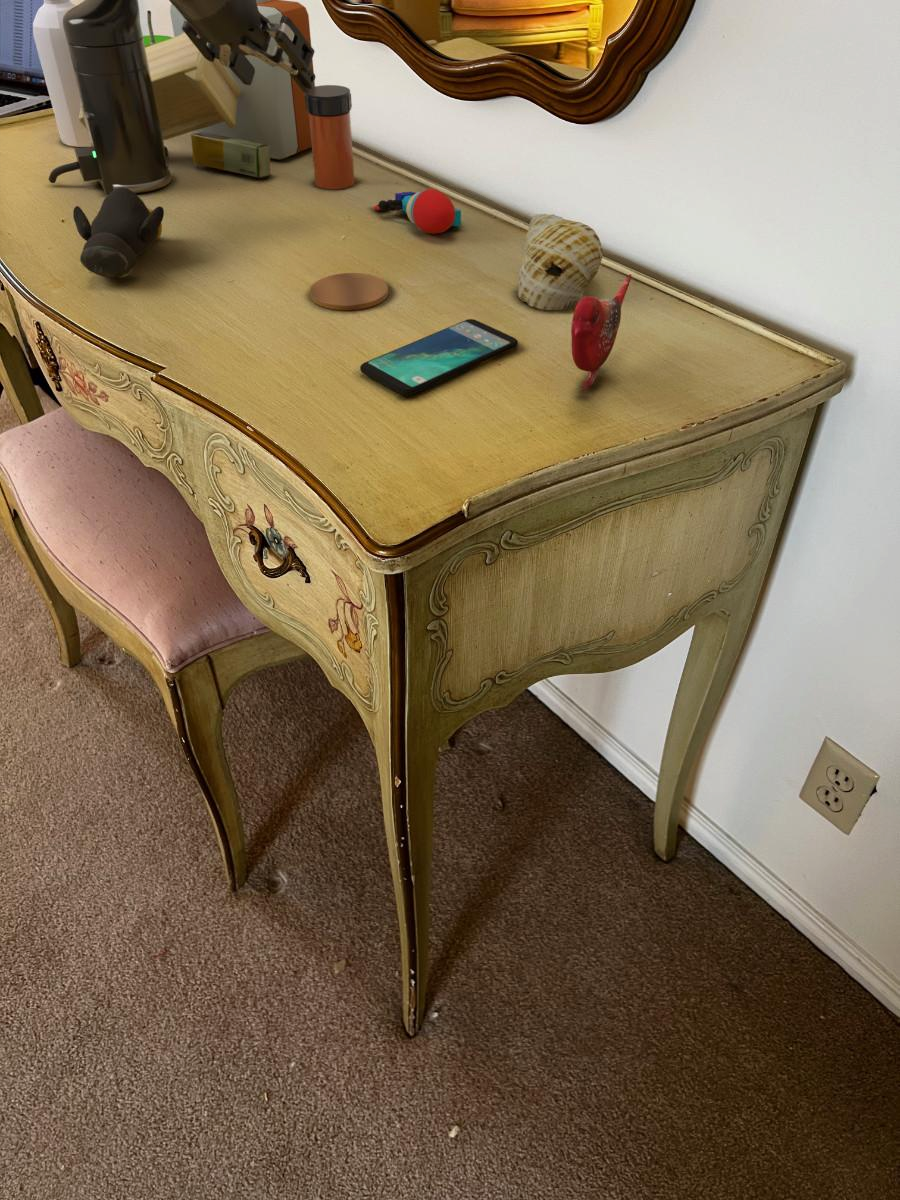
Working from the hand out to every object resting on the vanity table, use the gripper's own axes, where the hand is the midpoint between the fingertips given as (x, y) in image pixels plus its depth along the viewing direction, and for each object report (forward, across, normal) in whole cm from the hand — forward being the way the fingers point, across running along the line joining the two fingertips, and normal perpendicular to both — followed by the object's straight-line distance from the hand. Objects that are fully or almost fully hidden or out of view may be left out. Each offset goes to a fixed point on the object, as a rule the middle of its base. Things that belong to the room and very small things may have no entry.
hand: (279, 81), depth 111 cm
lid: (+10, 0, -5) cm, 11 cm away
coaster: (-4, -20, +24) cm, 32 cm away
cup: (+30, +44, -10) cm, 55 cm away
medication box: (+16, +15, +5) cm, 22 cm away
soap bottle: (+18, +45, +3) cm, 48 cm away
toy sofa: (+9, +24, +3) cm, 26 cm away
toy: (-4, +11, +20) cm, 23 cm away
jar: (+18, 0, +3) cm, 18 cm away
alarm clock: (+24, +20, -3) cm, 31 cm away
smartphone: (-10, -36, +31) cm, 49 cm away
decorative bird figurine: (-7, -50, +28) cm, 58 cm away
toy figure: (+12, -18, +9) cm, 23 cm away
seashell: (+4, -40, +17) cm, 44 cm away
